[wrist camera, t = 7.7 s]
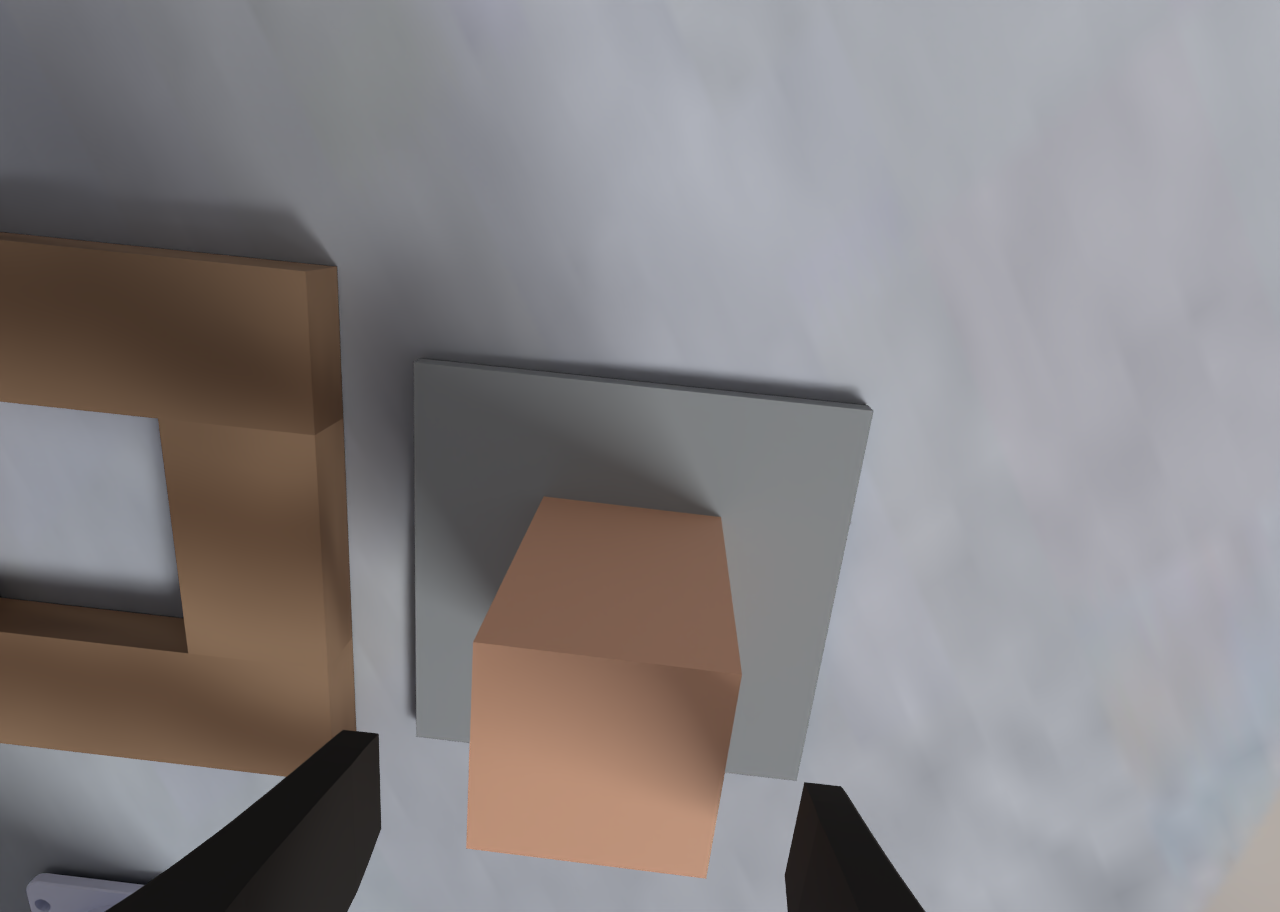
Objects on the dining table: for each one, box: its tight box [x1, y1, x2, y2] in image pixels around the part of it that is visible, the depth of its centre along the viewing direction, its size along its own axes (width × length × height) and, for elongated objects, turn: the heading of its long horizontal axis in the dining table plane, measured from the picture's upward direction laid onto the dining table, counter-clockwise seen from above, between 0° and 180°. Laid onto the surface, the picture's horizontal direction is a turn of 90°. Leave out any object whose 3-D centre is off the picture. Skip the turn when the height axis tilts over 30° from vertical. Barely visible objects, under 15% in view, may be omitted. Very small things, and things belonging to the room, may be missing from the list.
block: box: [466, 497, 742, 878], centre depth 16 cm, size 4×4×6 cm
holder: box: [0, 232, 356, 777], centre depth 19 cm, size 14×14×2 cm
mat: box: [413, 358, 873, 781], centre depth 19 cm, size 11×11×1 cm
